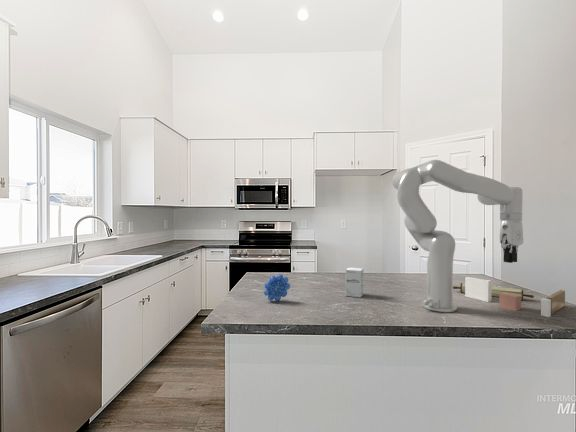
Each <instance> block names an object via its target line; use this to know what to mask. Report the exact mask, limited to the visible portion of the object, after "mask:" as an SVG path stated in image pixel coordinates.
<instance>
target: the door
mask: <svg viewBox="0 0 576 432" xmlns="http://www.w3.org/2000/svg"><path fill="white" fill-rule="evenodd" d="M545 299H551V315H553V314H554V313H556V312H557V311H558V310H560V309H561V308H563V307H564V306H566V290H564V289H560V290H558V291H555V292H553V294H551V295H548V296H547V297H545Z"/></svg>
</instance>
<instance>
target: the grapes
mask: <svg viewBox="0 0 576 432" xmlns="http://www.w3.org/2000/svg"><path fill="white" fill-rule="evenodd" d="M264 288H265V289H264V290H263V295H264V296H267V300H268V301H273V300H274V301H275V302H279V301H281V299H282V298H286V296H287V295H288V290H290V288H291V284H290V283H289V278H288V276H283V274H282V273H279V274H277V275H276V276H275V275H272V276H270V277H269V278H268V281H267V282H265V283H264Z"/></svg>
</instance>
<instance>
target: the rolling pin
mask: <svg viewBox="0 0 576 432" xmlns="http://www.w3.org/2000/svg"><path fill="white" fill-rule="evenodd" d="M455 289H456V290H459V291H460V293H461V294H465V282H464V283H463V282H461V283H460V286H454V285H453V290H455ZM501 293H509V294H514V295H519V296H521V302H522V301H524V298H525V297H526V298H530V299H534V298H535V296H534V295H533V294H524V289H519V288H511V287H510V288H509V287H500V286H493V285H492V297H495V298H499V294H501Z"/></svg>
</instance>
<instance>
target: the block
mask: <svg viewBox="0 0 576 432" xmlns="http://www.w3.org/2000/svg"><path fill="white" fill-rule="evenodd" d="M498 298H499V299H498V301H499V302H498V304H499V305H498V306H499V307H498V308H502V309H505V310H511V311H515V312H516V311H519V310H522V300H521V296H519V295H514V294H509V293H501V294H499V297H498Z"/></svg>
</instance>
